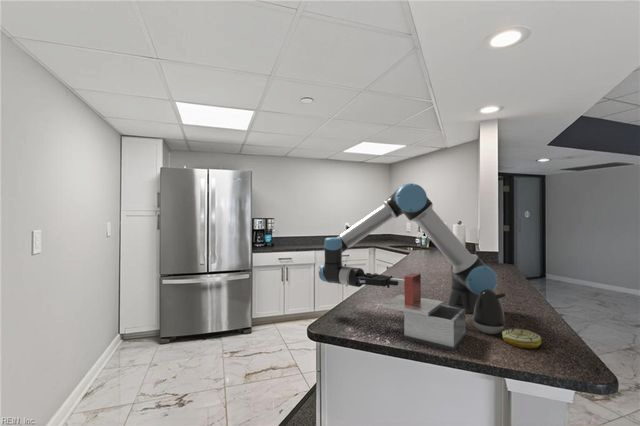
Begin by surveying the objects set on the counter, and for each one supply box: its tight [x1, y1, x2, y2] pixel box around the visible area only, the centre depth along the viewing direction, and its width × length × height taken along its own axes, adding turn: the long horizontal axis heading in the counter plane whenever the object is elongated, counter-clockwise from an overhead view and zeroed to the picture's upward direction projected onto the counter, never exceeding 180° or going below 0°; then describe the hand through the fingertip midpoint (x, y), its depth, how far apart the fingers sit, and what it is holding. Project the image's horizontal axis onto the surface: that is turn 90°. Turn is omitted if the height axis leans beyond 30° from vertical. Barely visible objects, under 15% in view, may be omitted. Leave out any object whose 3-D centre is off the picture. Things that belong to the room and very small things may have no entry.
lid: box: [381, 272, 444, 316], centre depth 112 cm, size 17×17×11 cm
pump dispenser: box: [472, 289, 506, 335], centre depth 111 cm, size 10×10×15 cm
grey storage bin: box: [403, 304, 467, 351], centre depth 107 cm, size 16×16×9 cm
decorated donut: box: [501, 328, 542, 350], centre depth 101 cm, size 10×11×4 cm
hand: (407, 284), depth 113 cm, fingers closed
